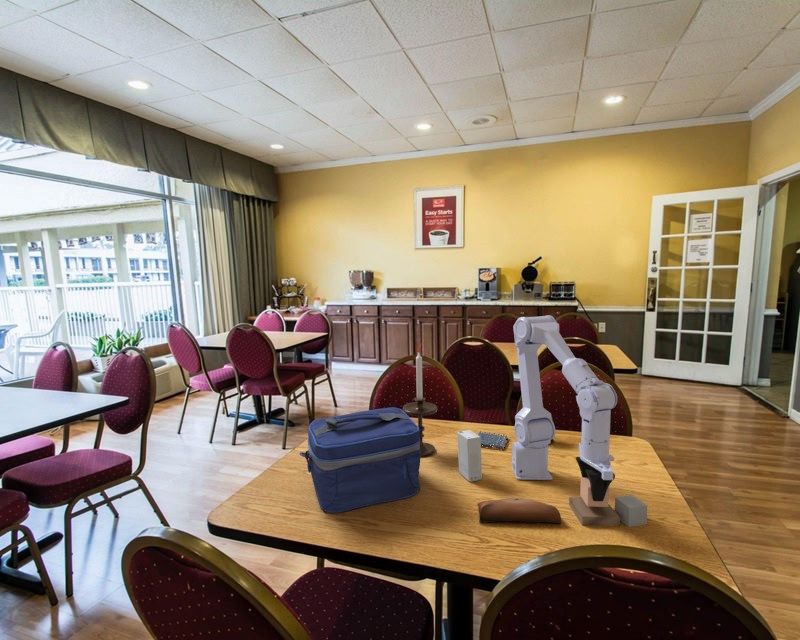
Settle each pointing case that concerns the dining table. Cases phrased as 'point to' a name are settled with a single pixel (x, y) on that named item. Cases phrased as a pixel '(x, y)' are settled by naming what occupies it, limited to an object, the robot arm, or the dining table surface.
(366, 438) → the lunch bag
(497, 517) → the sunglasses case
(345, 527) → the dining table surface
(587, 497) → the terracotta cube
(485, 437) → the woven mat
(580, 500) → the walnut slab
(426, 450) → the candlestick
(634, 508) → the grey cube
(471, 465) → the skincare box
